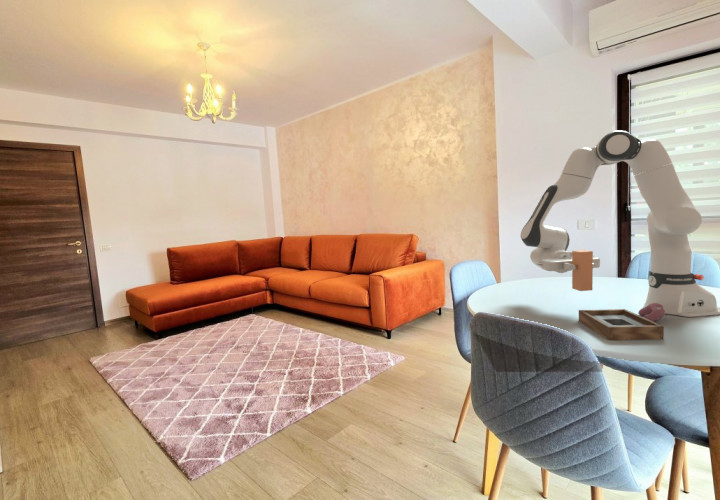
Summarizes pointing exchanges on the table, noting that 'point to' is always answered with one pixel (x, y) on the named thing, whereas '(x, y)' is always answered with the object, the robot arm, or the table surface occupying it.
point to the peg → (582, 270)
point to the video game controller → (652, 311)
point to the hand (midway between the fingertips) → (584, 266)
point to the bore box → (621, 325)
